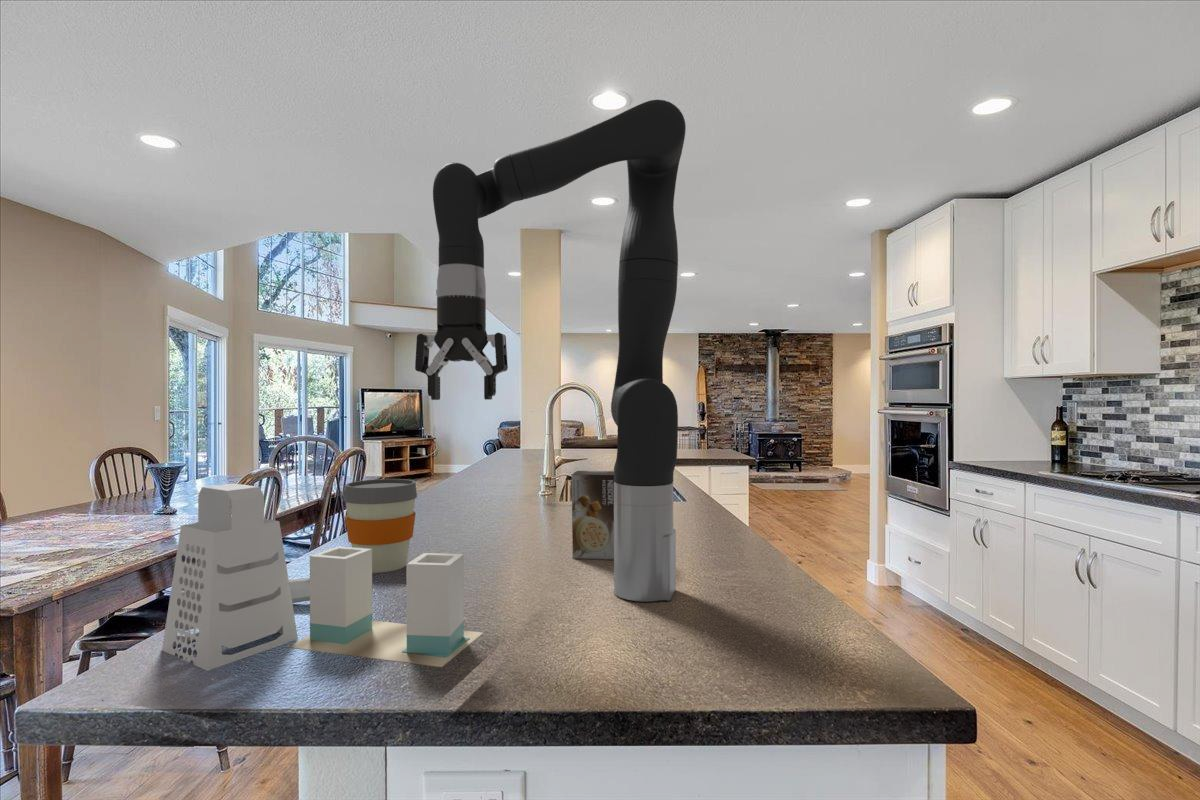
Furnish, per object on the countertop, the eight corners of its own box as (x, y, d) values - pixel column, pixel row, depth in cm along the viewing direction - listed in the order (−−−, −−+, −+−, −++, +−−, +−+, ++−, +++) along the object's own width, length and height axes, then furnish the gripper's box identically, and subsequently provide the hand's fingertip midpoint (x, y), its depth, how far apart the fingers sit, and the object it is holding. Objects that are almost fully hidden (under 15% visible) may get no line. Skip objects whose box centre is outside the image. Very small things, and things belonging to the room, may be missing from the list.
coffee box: (623, 552, 122) (623, 470, 122) (618, 560, 116) (618, 474, 115) (577, 550, 123) (577, 469, 123) (570, 558, 117) (570, 473, 117)
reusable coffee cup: (404, 576, 106) (404, 488, 106) (331, 575, 106) (330, 488, 106) (425, 557, 118) (425, 478, 118) (360, 556, 119) (360, 478, 118)
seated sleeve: (372, 628, 77) (371, 548, 77) (345, 644, 73) (345, 558, 73) (338, 625, 79) (337, 546, 79) (309, 639, 74) (309, 556, 74)
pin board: (483, 644, 76) (483, 593, 76) (441, 680, 66) (441, 622, 66) (344, 628, 81) (344, 581, 81) (287, 659, 72) (287, 605, 72)
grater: (206, 685, 65) (205, 496, 65) (159, 663, 71) (159, 489, 71) (299, 651, 74) (299, 484, 74) (251, 633, 80) (251, 478, 80)
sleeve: (463, 637, 74) (463, 554, 74) (449, 654, 69) (449, 565, 69) (423, 635, 75) (423, 553, 75) (406, 652, 70) (406, 564, 70)
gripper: (511, 300, 101) (511, 399, 101) (426, 301, 102) (426, 399, 102) (499, 292, 93) (499, 399, 93) (408, 293, 95) (408, 399, 95)
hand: (461, 399), depth 98 cm, fingers open, 8 cm apart
